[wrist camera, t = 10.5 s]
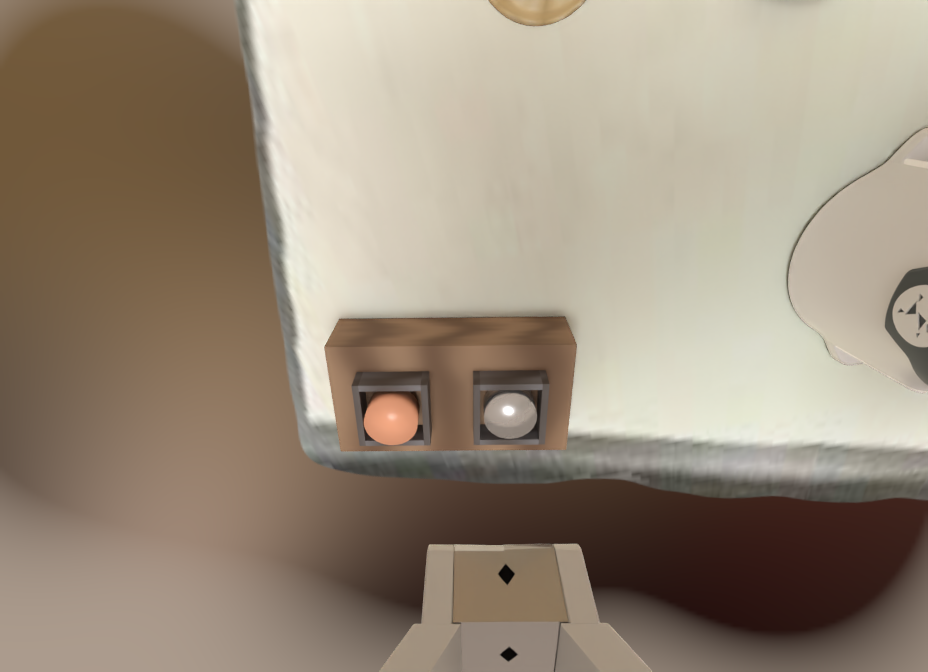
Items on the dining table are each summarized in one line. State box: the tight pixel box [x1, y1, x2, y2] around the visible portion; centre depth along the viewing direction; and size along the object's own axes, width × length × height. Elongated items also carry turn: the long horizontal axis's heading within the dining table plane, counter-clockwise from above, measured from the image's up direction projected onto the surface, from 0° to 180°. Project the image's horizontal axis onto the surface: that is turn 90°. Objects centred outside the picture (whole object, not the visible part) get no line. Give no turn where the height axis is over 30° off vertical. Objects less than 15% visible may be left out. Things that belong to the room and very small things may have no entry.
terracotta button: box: [364, 391, 420, 445], centre depth 38 cm, size 4×4×2 cm
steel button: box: [483, 390, 537, 439], centre depth 38 cm, size 4×4×2 cm
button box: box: [324, 317, 577, 451], centre depth 41 cm, size 19×10×7 cm, turn 91°
